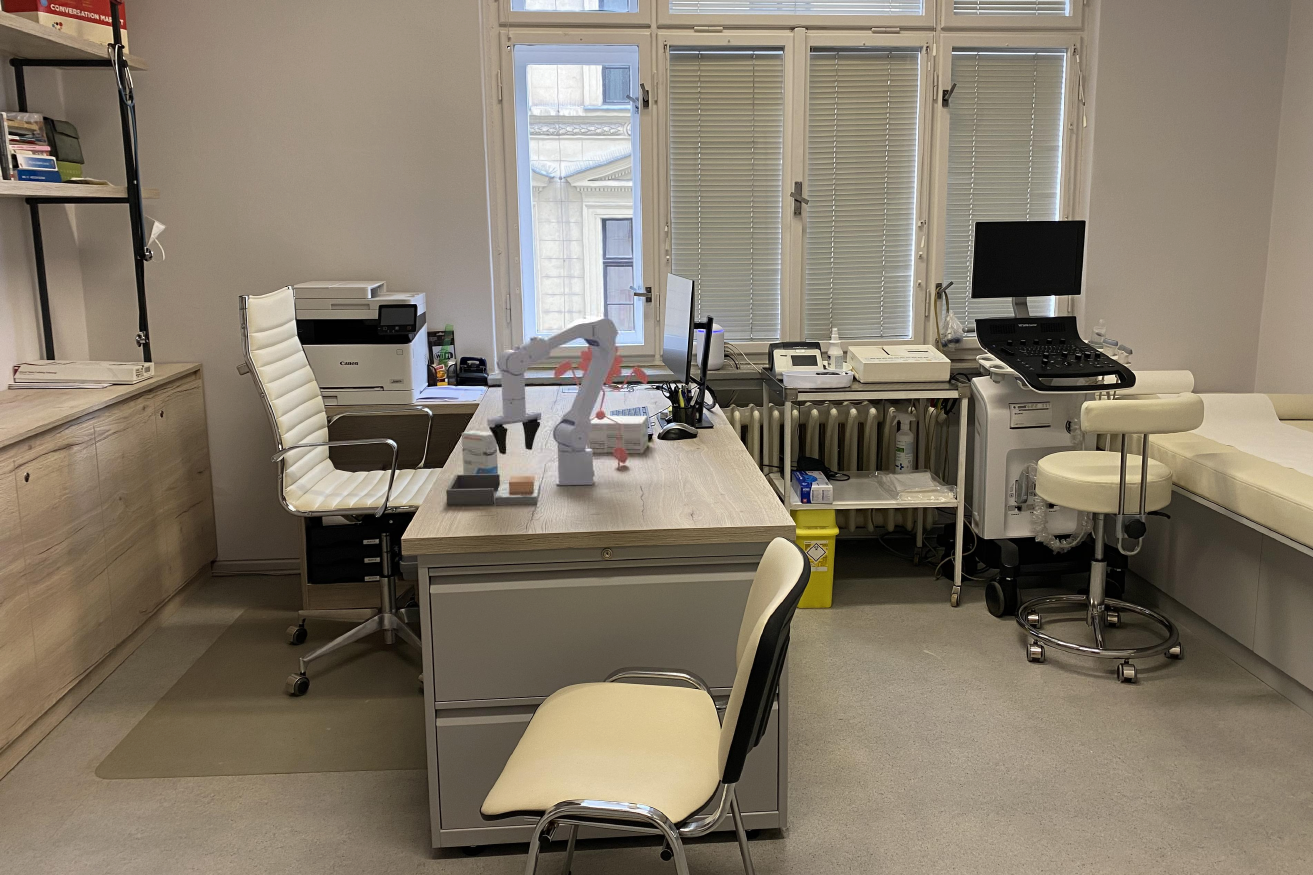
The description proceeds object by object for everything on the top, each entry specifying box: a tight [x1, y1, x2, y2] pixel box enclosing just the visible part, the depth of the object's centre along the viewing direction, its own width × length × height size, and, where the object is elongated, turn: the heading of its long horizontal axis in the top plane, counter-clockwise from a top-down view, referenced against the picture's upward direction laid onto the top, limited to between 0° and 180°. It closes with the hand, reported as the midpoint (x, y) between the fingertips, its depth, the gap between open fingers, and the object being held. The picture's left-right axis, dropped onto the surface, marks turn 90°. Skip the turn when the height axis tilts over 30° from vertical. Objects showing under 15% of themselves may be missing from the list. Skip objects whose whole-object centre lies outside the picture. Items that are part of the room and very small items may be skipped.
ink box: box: [461, 430, 499, 474], centre depth 273 cm, size 8×5×12 cm, turn 59°
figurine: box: [553, 344, 649, 470], centre depth 283 cm, size 15×26×35 cm, turn 95°
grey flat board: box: [494, 480, 541, 506], centre depth 251 cm, size 10×16×2 cm, turn 3°
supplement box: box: [586, 415, 649, 454], centre depth 307 cm, size 17×13×9 cm
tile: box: [508, 475, 536, 492], centre depth 251 cm, size 6×6×2 cm
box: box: [445, 473, 501, 507], centre depth 250 cm, size 11×16×4 cm
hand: (515, 451), depth 255 cm, fingers open, 7 cm apart
